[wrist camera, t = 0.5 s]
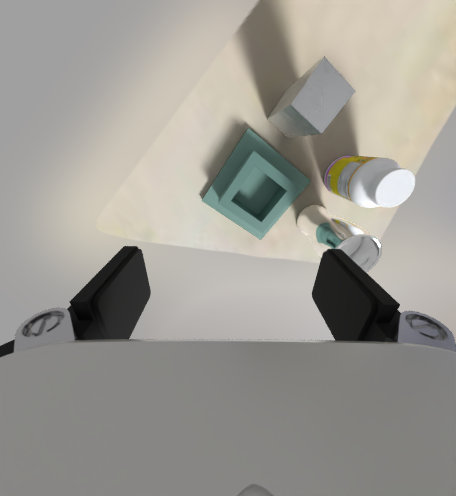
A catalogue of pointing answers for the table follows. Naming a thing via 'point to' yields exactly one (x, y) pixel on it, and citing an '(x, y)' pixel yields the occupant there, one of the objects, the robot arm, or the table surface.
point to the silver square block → (311, 101)
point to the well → (255, 186)
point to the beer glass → (339, 236)
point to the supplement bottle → (369, 181)
